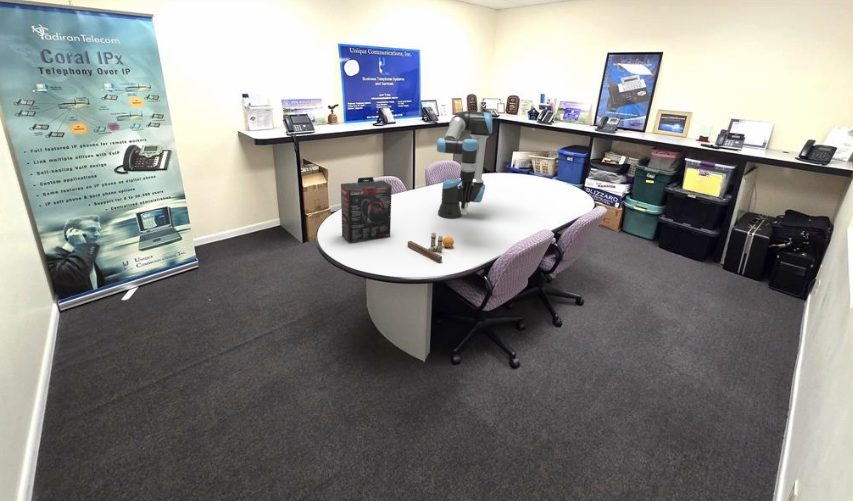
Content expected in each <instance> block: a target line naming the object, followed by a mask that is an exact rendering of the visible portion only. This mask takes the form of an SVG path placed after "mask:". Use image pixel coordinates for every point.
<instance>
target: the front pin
mask: <svg viewBox="0 0 853 501" xmlns="http://www.w3.org/2000/svg"><path fill="white" fill-rule="evenodd" d="M437 246H438V244H437V245H435V246H434V247H431V246H430V247H429V248H427V249H428V250H430V251H432V252H434V253H435V252H437ZM443 248H444V245H443V244H442V249H443Z"/></svg>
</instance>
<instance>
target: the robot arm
mask: <svg viewBox="0 0 853 501" xmlns="http://www.w3.org/2000/svg"><path fill="white" fill-rule="evenodd" d="M462 132H469V136H470V137H471V138H465V139H459V138H460V137H461V134H462ZM492 133H493V116H492V113H490V112H485V111H483V112H482V111H471V110H469V111H468V110H464V111H460V112H458V113H457V114H454V115H453V116H452V118H451V119H450V121H449V124H448V129H447V131H446V133H445V135H444V137H439V138H438V139H437V141H436V151H437V152H438V153H442V154H451V155H452V154H454V155H461V162H460V174H459V177H460V178H447V179H445V180H444V181H443V182H442V188H441V201H440V205H439V208H438V210H437V216H439V217H441V218H445V219H458V218H461V216H462V215H465V216H466V215H467V213H468V212H467V211H468V206H469V203H470V202H471V203H474V204H475V203H479V204H480V203H481V202H482V201H483V196H484V194H485V189H486V187H487V186H486V184H484V180H483V170H484V163H485V162H484V160H485V152H486V143H487V139H488V138H489V137H490V134H492ZM460 203H461V204H460Z"/></svg>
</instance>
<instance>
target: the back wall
mask: <svg viewBox="0 0 853 501" xmlns="http://www.w3.org/2000/svg"><path fill="white" fill-rule="evenodd" d="M407 248H409V249H411V250H412V251H414V252H416V253H419V254H421V255H423V256H424V257H427V258H428V259H429V260H430V259H431V261H434V262H436V263H438V264H439V263H440V264H441V263H442V262H443V256H442V255H440V254H439V253H437V252H435V251H434V252H432V251H430V250H428V249H429V248H426V247H424V246H422V245H420V244H418V243H416V242H415V241H412V240H408V241H407Z"/></svg>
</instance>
